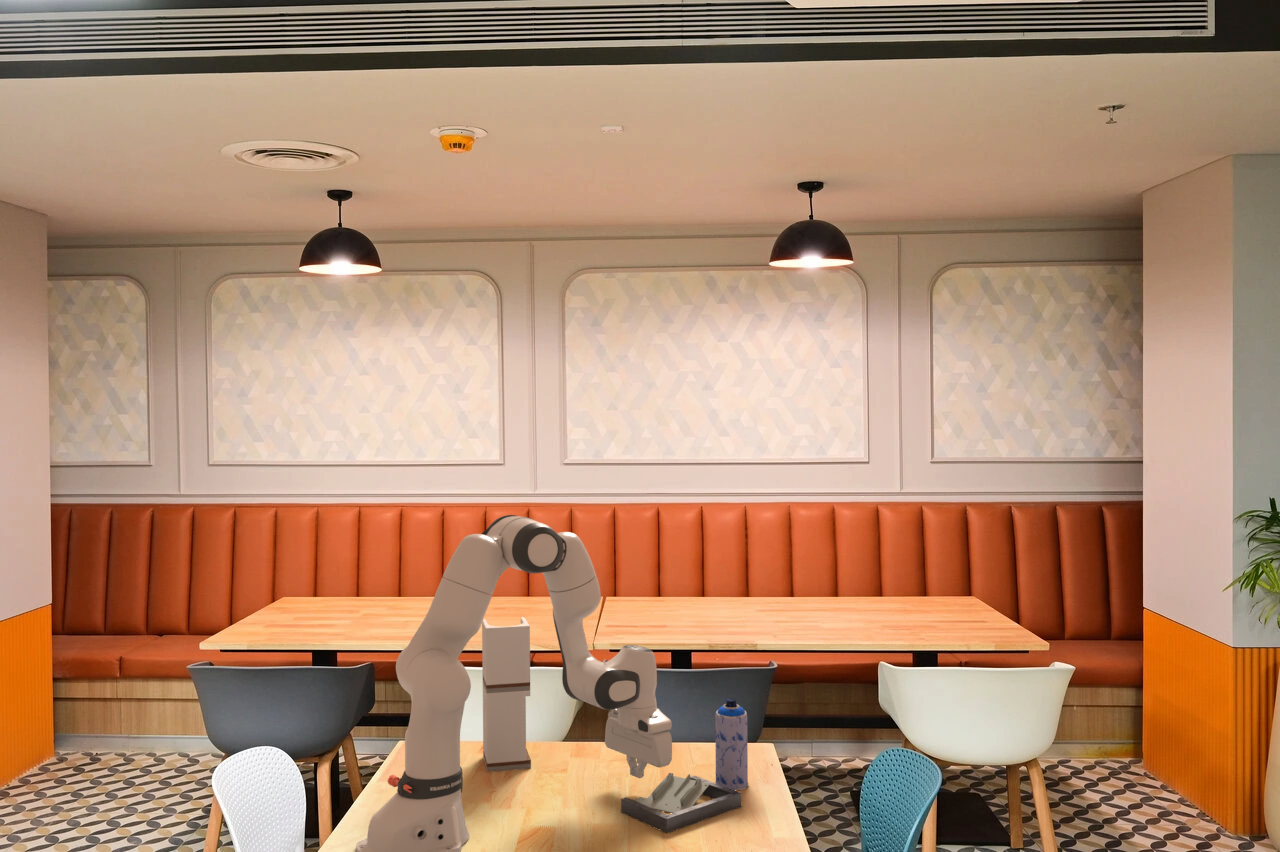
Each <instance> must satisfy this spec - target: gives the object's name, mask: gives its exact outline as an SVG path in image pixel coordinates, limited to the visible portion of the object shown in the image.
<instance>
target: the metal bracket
mask: <svg viewBox="0 0 1280 852" xmlns="http://www.w3.org/2000/svg"><path fill="white" fill-rule="evenodd" d="M690 777H691V774H690V773H688V774H687V776H686V777H680V776H675V775H674V773H672V772H668V774H667V775H666V776H665V777H664V778H663V779H662V781H661V782H660V783H659V784H658V785H657V786H656V787H655V788H654V790H653V791H652V792H651V793H650V794H649V796H648V797H644V796H638V797H637V799H636V800H635V801H636V802H639V803H641V804H643V805H646V806H648V807H650V808H652V809H655V810H657V811H659V812H662V811H664V812H663V813H666V812H667V813H666V814H670V813H675V812H677V811H680V810H683V809H686V808H689V807H692V806H695V803H697V801H698V800H699V799H700V798H701V796H703V795H702V794H703V792H704V791H705V790H706V789H707V787H708V786H709V783H705V782H701V779H698V778H697V779H696V781H695V780H690ZM706 785H707V786H706Z"/></svg>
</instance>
